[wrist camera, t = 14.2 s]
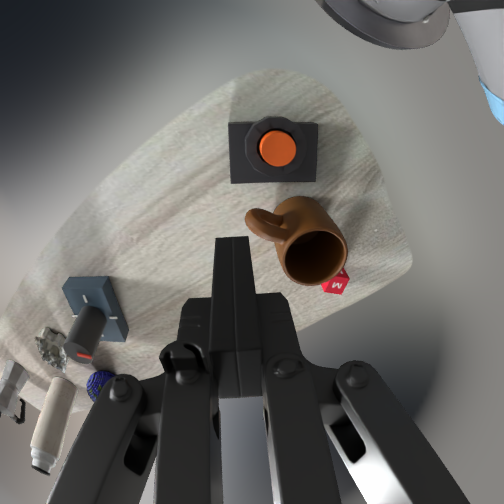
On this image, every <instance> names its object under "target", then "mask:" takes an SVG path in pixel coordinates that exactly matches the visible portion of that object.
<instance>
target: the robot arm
mask: <svg viewBox="0 0 504 504" xmlns="http://www.w3.org/2000/svg"><path fill="white" fill-rule="evenodd" d="M357 1H358V2H360V3H361V4H362V5H363V6H365V7H366V8H367V9H369V10H370V11H372V12H373V13H375V14H377V15H379V16H381V17H383V18H385V19H388V20H391V21H394V22H398V23H415V22H419V21H422V20H423V22H422V23H426V22H428V19H429V17H430V16H432V15H433V14H434V13H435V12H436V10H437V8H438V7H440V6H442V5H443V4H444V3H445V2H447V3H448V5H449V7H450V8H451V10H452V12H453V15H454V17H455V18H456V20H457V23H458V25H459V27H460V29H461V31H462V33H463V35H464V37H465V40H466V42H467V44H468V47H469V49H470V52H471V54H472V57H473V59H474V62H475V64H476V67H477V70H478V73H479V81H480V83H481V85H482V87H483V88H484V91H485V94H486V97H487V100H488V103H489V106H490V109H491V111H492V113H493V115H494V116H495V118H496V119H497V120H498V121H499V122H500V123H501V124H503V125H504V0H357ZM159 359H160V361H161V364H162V366H163V368H164V371H165V372H164V373H163V374H161V375H159V376H156V377H153V378H149V379H145V380H141V381H138V379H137V378H135V377H133V376H132V375H128V374H120V375H116V376H114V377H112V378H110V379H109V380H108V381H107V382H106V383H105V385H104V386H103V388H102V390H101V392H100V393H99V395H98V397H97V399H96V401H95V403H94V404H93V406H92V408H91V410H90V412H89V414H88V416H87V418H86V420H85V421H84V423H83V425H82V428H81V429H80V431H79V433H78V435H77V438H76V439H75V441H74V443H73V445H72V447H71V449H70V451H69V453H68V455H67V458H66V460H65V462H64V464H63V466H62V468H61V470H60V473H59V475H58V477H57V479H56V481H55V484H54V486H53V488H52V490H51V493H50V495H49V497H48V500H47V502H46V504H139V502H140V499H141V496H142V493H143V491H144V488H145V485H146V482H147V479H148V477H149V474H150V471H151V469H152V466H153V463H154V461H155V458H156V468H155V482H154V500H153V504H223V485H222V460H221V424H220V423H221V421H220V410H219V403H218V402H219V398H241V397H242V398H243V397H256V396H263V405H264V406H263V419H264V421H265V429H266V438H267V446H268V456H269V465H270V473H271V481H272V490H273V499H274V504H341V499H340V495H339V490H338V485H337V480H336V476H335V471H334V467H333V463H332V458H331V454H330V449H329V445H328V441H327V437H326V433H325V429H326V431H327V433H328V434H329V436H330V438H331V440H332V442H333V443H334V445H335V447H336V449H337V451H338V452H339V454H340V456H341V458H342V459H343V461H344V463H345V465H346V467H347V468H348V470H349V471H350V474H351V475H352V477H353V479H354V481H355V482H356V484H357V486H358V488H359V489H360V491H361V493H362V494H363V496H364V498H365V500H366V501H367V503H368V504H470V502H469V501H468V500H467V498H466V497H465V495H464V493H463V492H462V490H461V489H460V487H459V486H458V484H457V483H456V481H455V480H454V479H453V477H452V475H451V474H450V473H449V471H448V470H447V468H446V467H445V465H444V464H443V462H442V461H441V459H440V458H439V457H438V455H437V454H436V452H435V451H434V449H433V448H432V447H431V445H430V444H429V442H428V441H427V439H426V438H425V437H424V435H423V434H422V432H421V431H420V430H419V428H418V427H417V426H416V424H415V423H414V421H413V420H412V418H411V417H410V416H409V414H408V413H407V412H406V410H405V409H404V408H403V406H402V405H401V403H400V402H399V401H398V399H397V398H396V396H395V395H394V394H393V392H392V391H391V390H390V388H389V387H388V386H387V384H386V383H385V382H384V381H383V379H382V378H381V376H380V375H379V374H378V372H377V371H376V370H375V369H374V368H373V367H372V366H371V365H370V364H368V363H365V362H363V361H356V360H354V361H349V362H346V363H345V364H343V365H341V366H340V368H339V369H334V368H326V367H320V366H317V365H314V364H312V363H310V362H309V361H308V360H306V358H305V357H304V356H303V355H302V352H301V350H300V346H299V342H298V338H297V334H296V330H295V326H294V322H293V318H292V315H291V312H290V307H289V303H288V300H287V299H286V298H285V297H284V296H283V295H282V294H281V293H280V292H277V293H263V294H256V291H255V283H254V276H253V268H252V261H251V253H250V246H249V238H248V236H241V237H223V238H216V241H215V253H214V267H213V281H212V296H211V297H208V298H189V299H188V300H187V301H186V303H185V304H184V306H183V307H182V311H181V317H180V323H179V329H178V335H177V341H174V342H172V343H170V344H168V345H167V346H166V347H165V348H164V349H163V350H162V351H161V353H160V356H159ZM324 427H325V428H324Z"/></svg>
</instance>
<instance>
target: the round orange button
mask: <svg viewBox="0 0 504 504" xmlns="http://www.w3.org/2000/svg"><path fill="white" fill-rule="evenodd" d="M259 149H260V153H261V155H262V157H263V158H264V160H265V161H266V162H267V163H269V164H270V165H273V166H284V165H286V164H288V163H290V162H291V161H292V160H293V158H294V156H295V154H296V145H295V142H294V140H293V139H292V138H291V137H290V136H289V135H287V134H286V133H284V132H282V131H271V132H268V133H267V134H265V135H264V136H263V137H262V139H261V141H260V145H259Z"/></svg>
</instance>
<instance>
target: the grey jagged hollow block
mask: <svg viewBox="0 0 504 504" xmlns="http://www.w3.org/2000/svg"><path fill="white" fill-rule="evenodd" d="M35 338H36V339H35V342H36V345H37V347H38V350H39V352H40V353H41V355H42V359H43V361H44V360H46V361H47V362H48V364H51V365H52V366H53V367H55V368H57V369H60V370H61V371H62V372H63V373H65V370H66V365H67V363H68V361H69V357H68V356H67V354H66V352H65V351H64V349H63V345H64V342H65V340H66V339H65V338H64V337H63V335H62V334H60V333H58V335H56V334H54V333H52V332H51V331H50V329H49V328H47V327H46V328H45V329H42V330H41V331H40V333H39V335H38V337H35Z"/></svg>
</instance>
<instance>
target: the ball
mask: <svg viewBox="0 0 504 504" xmlns="http://www.w3.org/2000/svg"><path fill="white" fill-rule="evenodd" d="M114 376H115V375H113V374H112V373H110V372H105V371H97V372H95V373H93V374H92V375H91V376H90V377H89V379H88V382H87V391H88V395H89V396H90V398H91V399H92V401H94V403H95V401H96V399H97V397H98V395H99V393H100V392H101V390H102V388H103V386H104V385H105V383H106V382H107V381H108V380H109V379H110V378H112V377H114Z"/></svg>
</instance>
